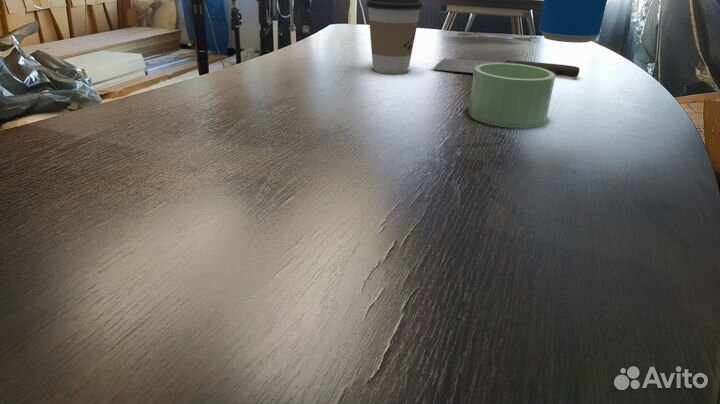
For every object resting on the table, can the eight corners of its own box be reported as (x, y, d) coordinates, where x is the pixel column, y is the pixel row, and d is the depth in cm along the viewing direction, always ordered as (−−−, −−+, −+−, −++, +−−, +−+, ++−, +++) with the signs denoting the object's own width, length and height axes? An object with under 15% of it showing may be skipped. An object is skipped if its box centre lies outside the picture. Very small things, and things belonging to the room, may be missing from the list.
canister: (499, 102, 85) (506, 60, 81) (560, 119, 77) (570, 74, 73) (452, 112, 78) (458, 67, 75) (514, 133, 70) (523, 83, 67)
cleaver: (576, 73, 106) (578, 63, 105) (581, 84, 98) (584, 73, 97) (438, 63, 113) (439, 54, 112) (432, 72, 105) (433, 62, 104)
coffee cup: (410, 78, 98) (417, -4, 91) (356, 72, 101) (358, -7, 94) (423, 67, 107) (429, -8, 101) (372, 62, 111) (375, -11, 104)
